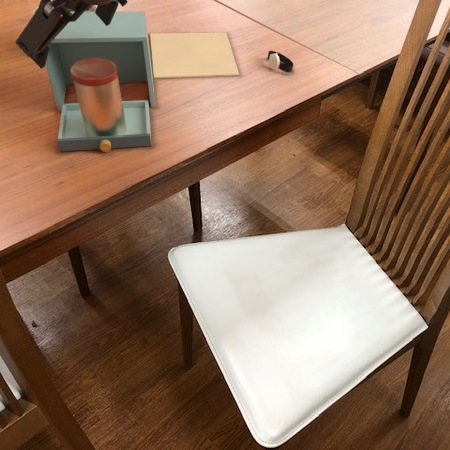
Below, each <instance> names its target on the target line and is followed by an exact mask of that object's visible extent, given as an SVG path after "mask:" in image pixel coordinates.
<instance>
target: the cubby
mask: <svg viewBox="0 0 450 450" xmlns="http://www.w3.org/2000/svg"><path fill="white" fill-rule="evenodd" d="M71 13H72V14H73V13H74V12H71ZM149 43H150V41H149V35H148V26H147V17H146V11H144V10H143V11H141V10H140V11H135V10H134V11H133V10H132V11H131V10H130V11H127V10H126V11H116V12H115V14H114V16H113V18H112V21H111V23H110V24H109V25H108V26H106V25H105V24H104V23H103V22H102V20H101V19H100V18H99V17H98V16H97V15H96V14H95V12H84V13H83V14H82V15H81V16H80V17H79V18H78V19H77V20H76V21H74V22H69V23H68V24H67V25H66V26H65V27H64V28H63V30H62V31H61V32H60V33H59V34H58V35H57V36H56V37H55V38H54V39H53V41H52V42H51V43H50V44H49V45H48V47H49V48H50V49H49V53H48V56H47V60H46V64H45V68H46V73H47V76H48V80H49V83H50V86H51V91H52V93H53V97H54V102H55V104H56V108H57V111H58V112H62V105H63V104H65V98H66V91H67V85H74V82H73V79H72V76H71V72H70V69H71V66H72V65H73V64H75V63H76V62H78V61H80V60H84V59H88V58H103V59H107V60H110V61H112V62H113V63H115V65H116V66H117V71H118V81H119V83H134V82H135V83H137V82H147V85H148V94H149V102H150V103H149V104H150V108H156V99H155V89H154V88H155V87H154V86H155V85H154V74H153V66H152V57H151V51H150V50H151V49H150V44H149Z"/></svg>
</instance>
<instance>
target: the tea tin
mask: <svg viewBox="0 0 450 450" xmlns="http://www.w3.org/2000/svg"><path fill="white" fill-rule="evenodd" d="M70 72H71V76H72V79H73V82H74V84H73V86H74V90H75V94H76V98H77V103H79V106H80V110H81V114H82V118H83V123H84V127H85V131H86V134H87V135H88V136H89V137H97V136H114V135H123V134H124V133H125V132H126V130H127V127H126V121H125V115H124V109H123V104H122V101H123V99H122V93H121V87H120V82H119V81H118V71H117V66H116V65H115V63H113V62H112V61H110V60H107V59H103V58H88V59H84V60H80V61H78V62H76V63H75V64H73V65H72V66H71V69H70Z"/></svg>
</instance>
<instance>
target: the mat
mask: <svg viewBox="0 0 450 450" xmlns="http://www.w3.org/2000/svg"><path fill="white" fill-rule="evenodd" d="M149 39H150V50H151V51H150V52H151V64H152V75H153V80H154V79H181V78H182V79H186V78H214V77H239V76H240V73H239V70H238V66H237V63H236V59H235V57H234V52H233V49H232V47H231V43H230V40H229V36H228V33H227V32H220V31H219V32H218V31H217V32H216V31H215V32H153V33H152V32H151V33H149Z"/></svg>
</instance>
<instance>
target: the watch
mask: <svg viewBox="0 0 450 450" xmlns="http://www.w3.org/2000/svg"><path fill="white" fill-rule="evenodd" d="M266 59H267V61H268V65H269V67H270V68H271V69H272V70H277V69H279V70H280V71H282V72H284V73H292V70H293V68H294V62H293V61H292V60H291V59H290V58H289V57H287V56H286V55H284V54H282V53H280V52H278V51H274V50H269V51H268V52H267V58H266Z"/></svg>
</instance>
